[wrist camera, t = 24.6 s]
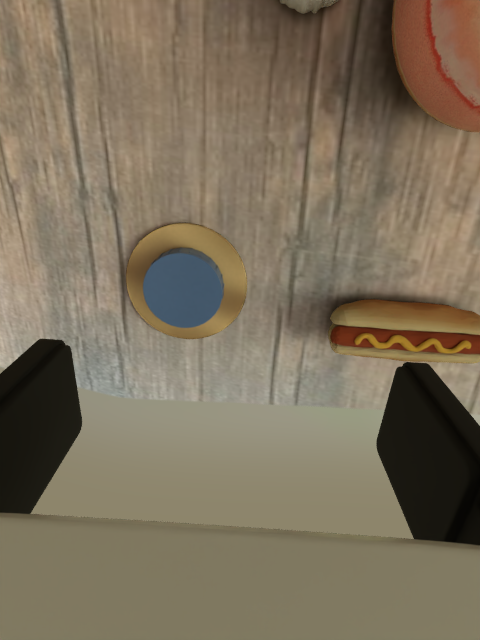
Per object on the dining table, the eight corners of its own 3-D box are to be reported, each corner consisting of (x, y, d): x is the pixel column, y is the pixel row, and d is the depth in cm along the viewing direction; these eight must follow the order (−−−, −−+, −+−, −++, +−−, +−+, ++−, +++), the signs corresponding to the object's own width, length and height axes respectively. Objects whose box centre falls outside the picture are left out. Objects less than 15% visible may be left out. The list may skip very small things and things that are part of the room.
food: (319, 342, 36) (328, 370, 32) (327, 289, 34) (339, 311, 29) (461, 351, 36) (491, 380, 32) (479, 299, 34) (515, 322, 29)
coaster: (243, 340, 36) (243, 342, 36) (131, 333, 36) (130, 335, 36) (251, 226, 32) (251, 228, 31) (123, 218, 32) (121, 219, 31)
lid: (146, 243, 32) (140, 248, 30) (226, 250, 32) (225, 256, 30) (148, 316, 35) (143, 325, 33) (221, 322, 35) (220, 331, 33)
